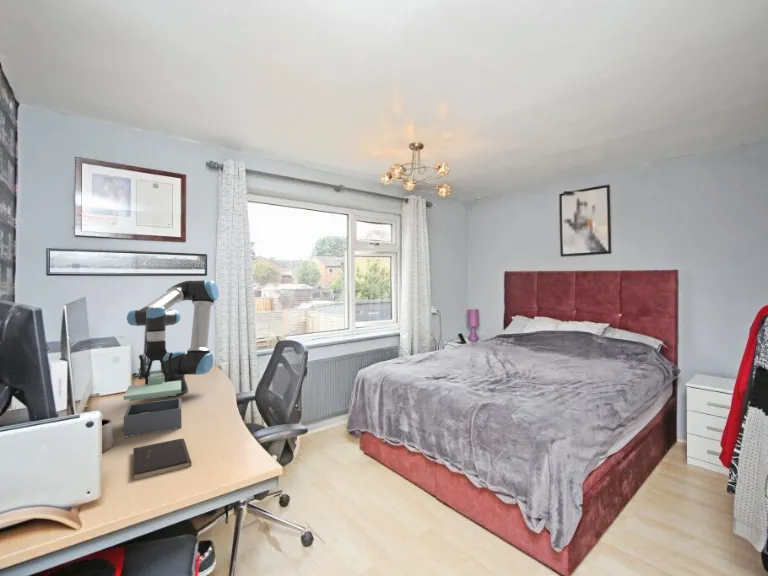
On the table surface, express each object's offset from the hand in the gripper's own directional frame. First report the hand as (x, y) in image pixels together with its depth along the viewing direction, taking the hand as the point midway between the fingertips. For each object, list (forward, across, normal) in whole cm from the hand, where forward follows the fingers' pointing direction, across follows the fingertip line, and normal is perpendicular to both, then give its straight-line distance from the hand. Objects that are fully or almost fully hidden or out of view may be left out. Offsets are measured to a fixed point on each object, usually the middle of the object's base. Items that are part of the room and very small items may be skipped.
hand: (156, 390), depth 172 cm
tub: (+12, 0, -14) cm, 18 cm away
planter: (+12, -18, -32) cm, 39 cm away
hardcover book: (+12, +4, -53) cm, 55 cm away
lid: (-2, 0, -9) cm, 10 cm away
